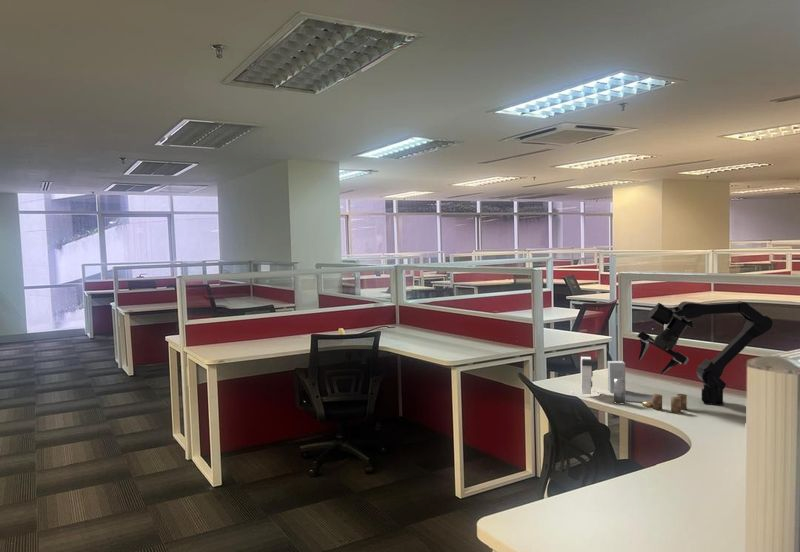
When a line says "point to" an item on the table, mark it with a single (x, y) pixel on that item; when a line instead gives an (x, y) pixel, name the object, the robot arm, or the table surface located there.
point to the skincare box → (615, 372)
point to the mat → (638, 397)
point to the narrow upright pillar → (586, 374)
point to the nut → (647, 403)
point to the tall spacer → (619, 390)
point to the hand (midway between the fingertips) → (650, 366)
